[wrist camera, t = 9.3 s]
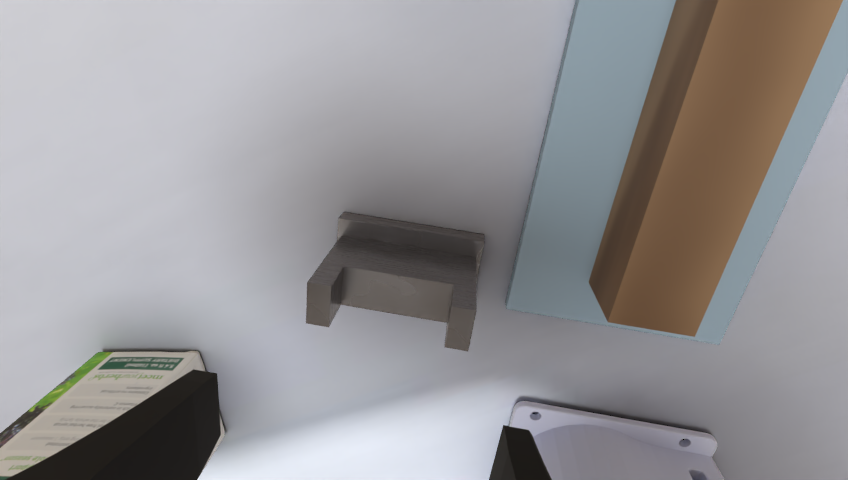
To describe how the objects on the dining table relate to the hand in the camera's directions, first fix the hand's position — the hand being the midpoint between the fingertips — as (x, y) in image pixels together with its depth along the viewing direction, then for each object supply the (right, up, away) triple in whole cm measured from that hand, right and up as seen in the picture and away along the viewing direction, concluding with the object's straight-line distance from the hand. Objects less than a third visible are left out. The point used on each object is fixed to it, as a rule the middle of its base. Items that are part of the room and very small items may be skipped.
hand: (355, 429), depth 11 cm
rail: (+11, +10, +4) cm, 15 cm away
